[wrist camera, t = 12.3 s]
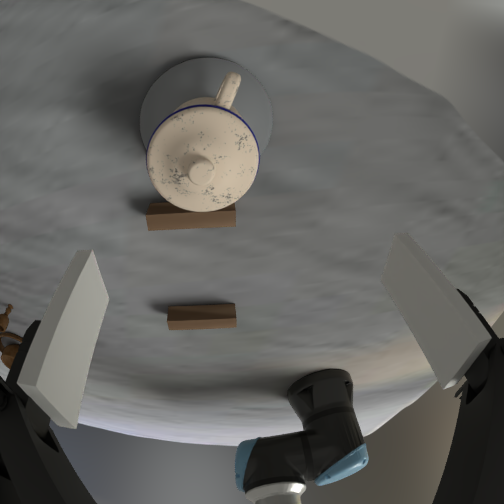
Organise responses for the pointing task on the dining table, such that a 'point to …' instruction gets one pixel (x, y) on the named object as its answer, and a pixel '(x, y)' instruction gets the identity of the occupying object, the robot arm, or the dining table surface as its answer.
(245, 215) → the dining table surface
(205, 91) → the grey flat disc
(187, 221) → the walnut cradle
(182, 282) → the dining table surface
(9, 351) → the place setting
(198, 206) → the teacup with lid
